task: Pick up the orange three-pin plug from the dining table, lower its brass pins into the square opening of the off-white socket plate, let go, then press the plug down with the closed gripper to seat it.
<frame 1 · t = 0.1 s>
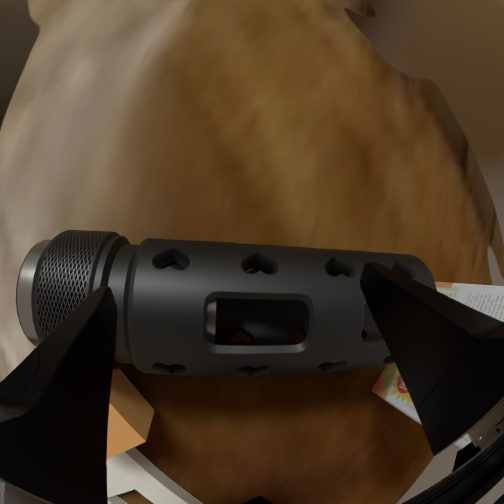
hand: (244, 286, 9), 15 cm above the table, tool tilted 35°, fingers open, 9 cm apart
cracker box: (414, 344, 28), on the table
muzzle brake: (226, 299, 25), on the table
plug: (111, 388, 22), on the table
socket plate: (138, 496, 22), on the table
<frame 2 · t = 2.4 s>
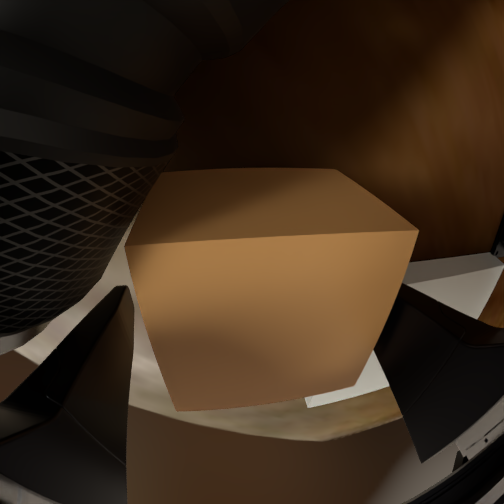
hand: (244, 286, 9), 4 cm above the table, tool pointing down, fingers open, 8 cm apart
plug: (242, 225, 13), on the table
socket plate: (406, 323, 20), on the table
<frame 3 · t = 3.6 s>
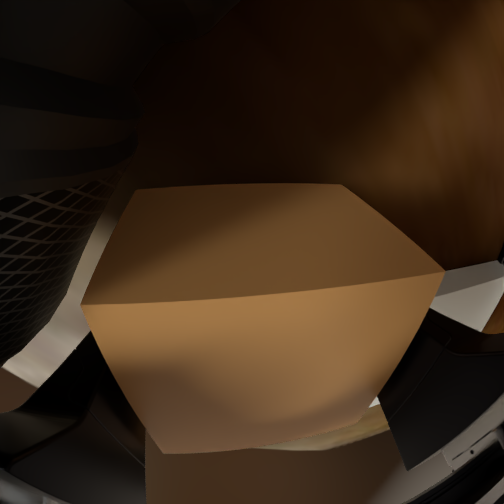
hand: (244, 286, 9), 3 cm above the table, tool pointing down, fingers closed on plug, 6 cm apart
plug: (234, 244, 12), on the table, touching gripper
socket plate: (411, 336, 18), on the table
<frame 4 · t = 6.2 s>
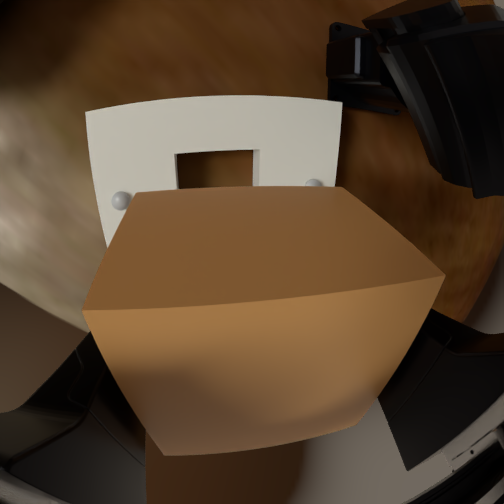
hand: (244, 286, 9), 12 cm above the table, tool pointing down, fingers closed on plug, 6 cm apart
plug: (234, 246, 12), point 9 cm above the table, touching gripper
socket plate: (215, 181, 19), on the table
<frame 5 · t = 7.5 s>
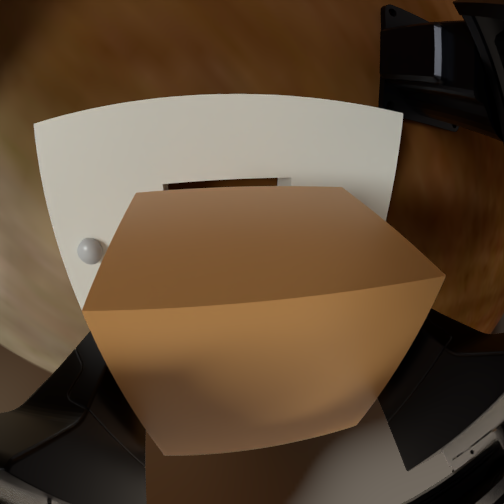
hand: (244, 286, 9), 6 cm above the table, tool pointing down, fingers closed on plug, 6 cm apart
plug: (234, 246, 12), point 3 cm above the table, touching gripper
socket plate: (224, 218, 14), on the table
when the fingers open (4 cm above the table, at t = 8.9 s): plug drops 1 cm, resting on socket plate.
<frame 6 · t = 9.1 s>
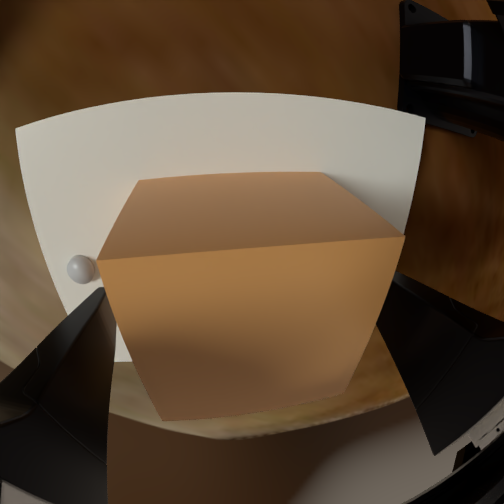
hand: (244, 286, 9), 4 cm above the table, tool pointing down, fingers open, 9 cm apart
plug: (227, 230, 13), resting on socket plate
socket plate: (228, 231, 13), on the table
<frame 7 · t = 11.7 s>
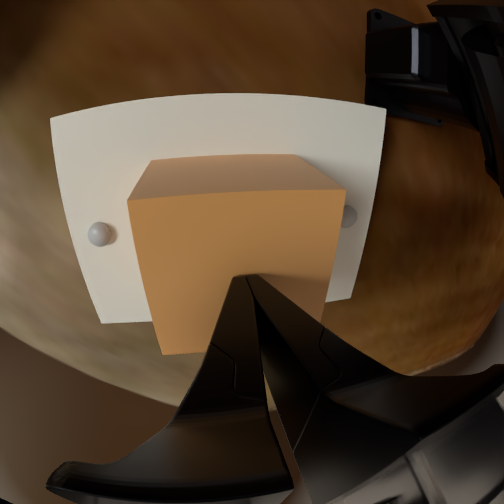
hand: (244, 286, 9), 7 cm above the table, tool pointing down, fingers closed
plug: (221, 205, 15), resting on socket plate
socket plate: (222, 206, 15), on the table
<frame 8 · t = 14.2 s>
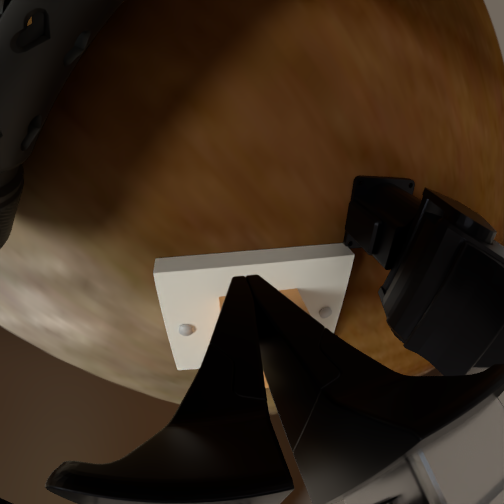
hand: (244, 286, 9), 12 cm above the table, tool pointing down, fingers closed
muzzle brake: (57, 48, 12), on the table
plug: (253, 305, 26), resting on socket plate
socket plate: (253, 306, 26), on the table
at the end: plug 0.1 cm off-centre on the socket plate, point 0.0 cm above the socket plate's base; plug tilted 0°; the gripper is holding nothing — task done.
